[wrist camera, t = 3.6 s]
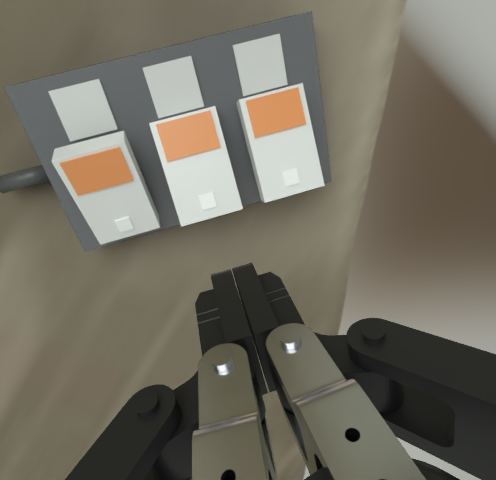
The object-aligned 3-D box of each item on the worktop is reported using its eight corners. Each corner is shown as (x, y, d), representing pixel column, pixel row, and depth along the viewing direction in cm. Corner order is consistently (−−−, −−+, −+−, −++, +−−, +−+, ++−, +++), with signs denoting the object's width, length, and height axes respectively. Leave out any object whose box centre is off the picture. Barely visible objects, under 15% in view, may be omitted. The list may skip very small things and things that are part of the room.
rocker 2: (236, 103, 27) (239, 99, 25) (296, 87, 27) (303, 82, 25) (261, 200, 28) (265, 202, 27) (317, 184, 29) (325, 185, 27)
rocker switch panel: (-37, 97, 26) (-70, 105, 23) (295, 15, 28) (316, 10, 25) (44, 245, 32) (28, 272, 28) (315, 169, 34) (335, 184, 30)
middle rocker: (151, 125, 26) (148, 123, 25) (213, 108, 27) (215, 105, 25) (181, 222, 28) (181, 227, 26) (240, 206, 28) (243, 209, 27)
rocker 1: (54, 148, 24) (51, 162, 23) (123, 130, 24) (124, 143, 23) (100, 230, 29) (100, 246, 28) (158, 214, 29) (160, 228, 28)
